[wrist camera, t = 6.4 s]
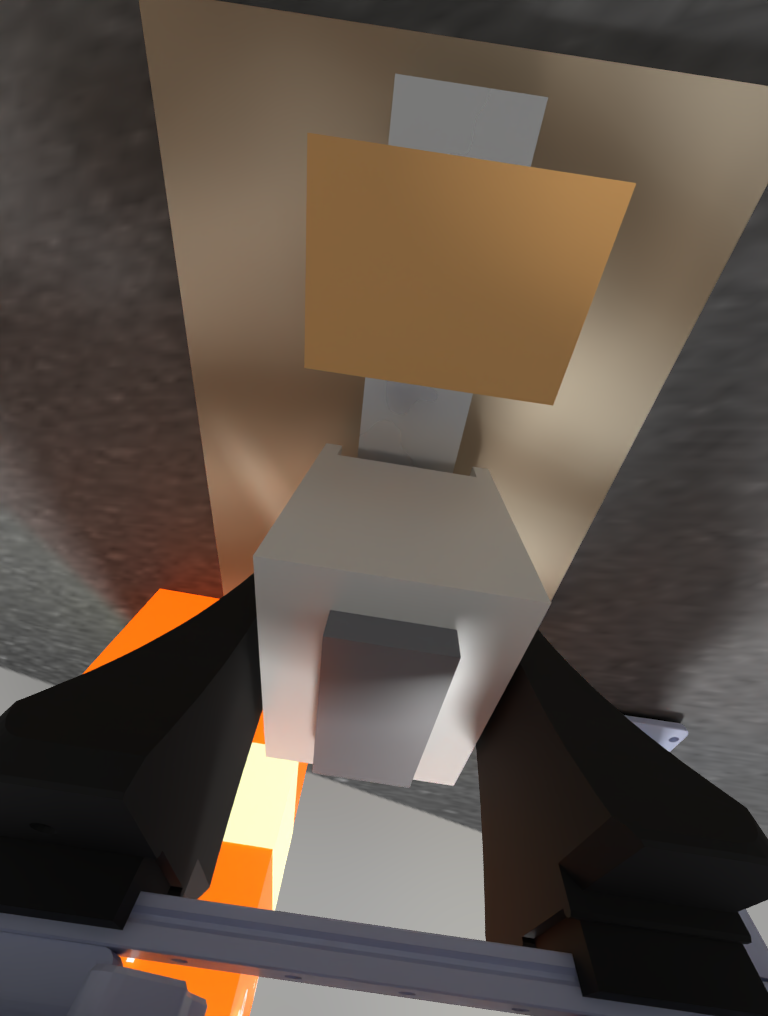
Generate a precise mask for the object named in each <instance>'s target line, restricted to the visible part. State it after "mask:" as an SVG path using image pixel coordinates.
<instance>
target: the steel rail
mask: <svg viewBox="0 0 768 1016" xmlns="http://www.w3.org/2000/svg"><path fill="white" fill-rule="evenodd" d="M547 100H548V97H543V96H537V95H530V94H524V93H517V92H511V91H504V90H498V89H492V88H485V87H479V86H472V85H466V84H459V83H453V82H446V81H440V80H433V79H427V78H420V77H414V76H407V75H401V74H395V81H394V91H393V101H392V111H391V122H390V132H389V142H388V145H392V146H398V147H405V148H411V149H418V150H424V151H431V152H437V153H444V154H450V155H457V156H463V157H470V158H476V159H483V160H489V161H496V162H502V163H509V164H515V165H522V166H528V167H531V163H532V159H533V155H534V152H535V148H536V144H537V140H538V136H539V132H540V128H541V124H542V120H543V116H544V112H545V108H546V104H547ZM472 396H473V393H466V392H460V391H453V390H446V389H440V388H433V387H427V386H420V385H413V384H407V383H400V382H393V381H387V380H380V379H374V378H367V377H365V386H364V396H363V406H362V417H361V427H360V437H359V447H358V457H357V458H361V459H367V460H373V461H379V462H386V463H392V464H398V465H404V466H410V467H417V468H423V469H429V470H435V471H442V472H448V473H453V470H454V466H455V462H456V458H457V455H458V451H459V447H460V443H461V439H462V435H463V431H464V427H465V423H466V419H467V415H468V411H469V407H470V403H471V399H472Z"/></svg>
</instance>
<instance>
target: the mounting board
mask: <svg viewBox="0 0 768 1016" xmlns="http://www.w3.org/2000/svg"><path fill="white" fill-rule="evenodd" d="M139 6H140V13H141V20H142V27H143V34H144V41H145V48H146V55H147V62H148V69H149V76H150V83H151V90H152V97H153V104H154V111H155V118H156V125H157V132H158V139H159V146H160V153H161V160H162V167H163V174H164V181H165V188H166V195H167V202H168V209H169V216H170V223H171V230H172V237H173V244H174V251H175V258H176V265H177V272H178V279H179V286H180V293H181V300H182V307H183V314H184V321H185V328H186V335H187V342H188V349H189V356H190V363H191V370H192V377H193V384H194V391H195V398H196V405H197V412H198V419H199V426H200V433H201V440H202V447H203V454H204V461H205V468H206V475H207V482H208V489H209V496H210V503H211V510H212V517H213V524H214V531H215V538H216V545H217V552H218V559H219V566H220V573H221V580H222V587H223V594H224V596H225V595H226V594H227V593H229V592H230V591H231V590H233V589H234V588H235V587H237V586H238V585H239V584H241V583H242V582H243V581H244V580H246V579H247V578H248V577H249V576H250V575H252V574H253V573H254V565H253V555H254V553H255V552H256V550H257V549H258V547H259V546H260V544H261V543H262V541H263V540H264V538H265V537H266V535H267V534H268V532H269V530H270V529H271V527H272V526H273V524H274V523H275V521H276V520H277V518H278V517H279V515H280V514H281V512H282V511H283V509H284V507H285V506H286V504H287V503H288V501H289V500H290V498H291V497H292V495H293V494H294V492H295V491H296V489H297V488H298V486H299V484H300V483H301V481H302V480H303V478H304V477H305V475H306V474H307V472H308V471H309V469H310V468H311V466H312V465H313V463H314V461H315V460H316V458H317V457H318V455H319V454H320V452H321V451H322V449H323V448H324V446H325V445H326V443H329V444H335V445H342V453H341V455H342V456H348V457H355V458H357V457H358V447H359V437H360V427H361V417H362V406H363V396H364V386H365V377H360V376H354V375H347V374H341V373H334V372H327V371H321V370H314V369H307V368H304V354H305V277H306V200H307V133H314V134H320V135H327V136H333V137H340V138H346V139H353V140H359V141H366V142H372V143H379V144H385V145H388V142H389V132H390V122H391V111H392V101H393V91H394V81H395V74H401V75H407V76H414V77H420V78H427V79H433V80H440V81H446V82H453V83H459V84H466V85H472V86H479V87H485V88H492V89H498V90H504V91H511V92H517V93H524V94H530V95H537V96H543V97H548V100H547V104H546V108H545V112H544V116H543V120H542V124H541V128H540V132H539V136H538V140H537V144H536V148H535V152H534V155H533V159H532V163H531V167H535V168H541V169H548V170H554V171H561V172H567V173H574V174H580V175H587V176H593V177H600V178H606V179H613V180H619V181H626V182H632V183H636V186H635V188H634V191H633V194H632V196H631V199H630V202H629V204H628V207H627V210H626V212H625V215H624V218H623V220H622V223H621V226H620V228H619V231H618V234H617V236H616V239H615V242H614V244H613V247H612V250H611V252H610V255H609V258H608V260H607V263H606V266H605V268H604V271H603V274H602V276H601V279H600V282H599V284H598V287H597V290H596V292H595V295H594V298H593V300H592V303H591V306H590V308H589V311H588V314H587V316H586V319H585V322H584V324H583V327H582V330H581V332H580V335H579V338H578V340H577V343H576V346H575V348H574V351H573V354H572V356H571V359H570V362H569V364H568V367H567V370H566V372H565V375H564V378H563V380H562V383H561V386H560V388H559V391H558V394H557V396H556V399H555V402H554V404H553V406H552V405H546V404H539V403H532V402H526V401H519V400H513V399H506V398H499V397H493V396H486V395H480V394H473V396H472V399H471V403H470V407H469V411H468V415H467V419H466V423H465V427H464V431H463V435H462V439H461V443H460V447H459V451H458V455H457V458H456V462H455V466H454V470H453V473H454V474H460V475H466V476H470V474H471V471H472V467H478V468H485V469H488V470H489V472H490V474H491V476H492V478H493V480H494V482H495V485H496V487H497V489H498V491H499V493H500V495H501V497H502V499H503V502H504V504H505V506H506V508H507V510H508V512H509V514H510V516H511V519H512V521H513V523H514V525H515V527H516V529H517V531H518V533H519V536H520V538H521V540H522V542H523V544H524V546H525V548H526V550H527V553H528V555H529V557H530V559H531V561H532V563H533V565H534V567H535V570H536V572H537V574H538V576H539V578H540V580H541V582H542V584H543V587H544V589H545V591H546V593H547V595H548V597H549V599H550V601H551V600H552V598H553V596H554V594H555V592H556V591H557V589H558V587H559V585H560V583H561V581H562V579H563V577H564V575H565V573H566V571H567V569H568V567H569V565H570V564H571V562H572V560H573V558H574V556H575V554H576V552H577V550H578V548H579V546H580V544H581V542H582V540H583V539H584V537H585V535H586V533H587V531H588V529H589V527H590V525H591V523H592V521H593V519H594V517H595V515H596V513H597V512H598V510H599V508H600V506H601V504H602V502H603V500H604V498H605V496H606V494H607V492H608V490H609V488H610V487H611V485H612V483H613V481H614V479H615V477H616V475H617V473H618V471H619V469H620V467H621V465H622V463H623V461H624V460H625V458H626V456H627V454H628V452H629V450H630V448H631V446H632V444H633V442H634V440H635V438H636V436H637V435H638V433H639V431H640V429H641V427H642V425H643V423H644V421H645V419H646V417H647V415H648V413H649V411H650V409H651V408H652V406H653V404H654V402H655V400H656V398H657V396H658V394H659V392H660V390H661V388H662V386H663V384H664V382H665V381H666V379H667V377H668V375H669V373H670V371H671V369H672V367H673V365H674V363H675V361H676V359H677V357H678V356H679V354H680V352H681V350H682V348H683V346H684V344H685V342H686V340H687V338H688V336H689V334H690V332H691V330H692V329H693V327H694V325H695V323H696V321H697V319H698V317H699V315H700V313H701V311H702V309H703V307H704V305H705V304H706V302H707V300H708V298H709V296H710V294H711V292H712V290H713V288H714V286H715V284H716V282H717V280H718V278H719V277H720V275H721V273H722V271H723V269H724V267H725V265H726V263H727V261H728V259H729V257H730V255H731V253H732V252H733V250H734V248H735V246H736V244H737V242H738V240H739V238H740V236H741V234H742V232H743V230H744V228H745V226H746V225H747V223H748V221H749V219H750V217H751V215H752V213H753V211H754V209H755V207H756V205H757V203H758V201H759V200H760V198H761V196H762V194H763V192H764V190H765V188H766V186H767V184H768V86H765V85H758V84H752V83H745V82H739V81H733V80H726V79H720V78H713V77H707V76H700V75H694V74H687V73H681V72H675V71H668V70H662V69H655V68H649V67H642V66H636V65H629V64H623V63H616V62H610V61H604V60H597V59H591V58H584V57H578V56H571V55H565V54H558V53H552V52H546V51H539V50H533V49H526V48H520V47H513V46H507V45H500V44H494V43H488V42H481V41H475V40H468V39H462V38H455V37H449V36H442V35H436V34H430V33H423V32H417V31H410V30H404V29H397V28H391V27H384V26H378V25H372V24H365V23H359V22H352V21H346V20H339V19H333V18H326V17H320V16H314V15H307V14H301V13H294V12H288V11H281V10H275V9H268V8H262V7H256V6H249V5H243V4H236V3H230V2H223V1H217V0H139Z"/></svg>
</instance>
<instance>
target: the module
mask: <svg viewBox="0 0 768 1016" xmlns="http://www.w3.org/2000/svg"><path fill="white" fill-rule="evenodd" d="M341 453H342V445H335V444H329V443H326V445H325V446H324V448H323V449H322V451H321V452H320V454H319V455H318V457H317V458H316V460H315V461H314V463H313V465H312V466H311V468H310V469H309V471H308V472H307V474H306V475H305V477H304V478H303V480H302V481H301V483H300V484H299V486H298V488H297V489H296V491H295V492H294V494H293V495H292V497H291V498H290V500H289V501H288V503H287V504H286V506H285V507H284V509H283V511H282V512H281V514H280V515H279V517H278V518H277V520H276V521H275V523H274V524H273V526H272V527H271V529H270V530H269V532H268V534H267V535H266V537H265V538H264V540H263V541H262V543H261V544H260V546H259V547H258V549H257V550H256V552H255V553H254V555H253V565H254V581H255V596H256V612H257V627H258V643H259V658H260V674H261V689H262V705H263V720H264V736H265V751H266V757H271V758H277V759H284V760H290V761H297V762H303V763H310V764H313V770H312V773H316V774H323V775H329V776H336V777H342V778H349V779H355V780H361V781H368V782H374V783H381V784H387V785H394V786H400V787H407V788H410V785H411V783H412V780H420V781H426V782H432V783H439V784H445V785H452V786H454V784H455V782H456V780H457V778H458V776H459V775H460V773H461V771H462V769H463V767H464V765H465V763H466V762H467V760H468V758H469V756H470V754H471V752H472V750H473V748H474V747H475V745H476V743H477V741H478V739H479V737H480V735H481V734H482V732H483V730H484V728H485V726H486V724H487V722H488V720H489V719H490V717H491V715H492V713H493V711H494V709H495V707H496V706H497V704H498V702H499V700H500V698H501V696H502V694H503V693H504V691H505V689H506V687H507V685H508V683H509V681H510V679H511V678H512V676H513V674H514V672H515V670H516V668H517V666H518V665H519V663H520V661H521V659H522V657H523V655H524V653H525V651H526V650H527V648H528V646H529V644H530V642H531V640H532V638H533V637H534V635H535V633H536V631H537V629H538V627H539V625H540V623H541V622H542V620H543V618H544V616H545V614H546V612H547V610H548V609H549V607H550V605H551V601H550V599H549V597H548V595H547V593H546V591H545V589H544V587H543V584H542V582H541V580H540V578H539V576H538V574H537V572H536V570H535V567H534V565H533V563H532V561H531V559H530V557H529V555H528V553H527V550H526V548H525V546H524V544H523V542H522V540H521V538H520V536H519V533H518V531H517V529H516V527H515V525H514V523H513V521H512V519H511V516H510V514H509V512H508V510H507V508H506V506H505V504H504V502H503V499H502V497H501V495H500V493H499V491H498V489H497V487H496V485H495V482H494V480H493V478H492V476H491V474H490V472H489V470H488V469H485V468H478V467H472V471H471V474H470V476H466V475H460V474H454V473H448V472H442V471H435V470H429V469H423V468H417V467H410V466H404V465H398V464H392V463H386V462H379V461H373V460H367V459H361V458H355V457H348V456H342V455H341Z"/></svg>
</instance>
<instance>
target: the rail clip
mask: <svg viewBox="0 0 768 1016" xmlns="http://www.w3.org/2000/svg"><path fill="white" fill-rule="evenodd" d="M635 186H636V183H632V182H626V181H619V180H613V179H606V178H600V177H593V176H587V175H580V174H574V173H567V172H561V171H554V170H548V169H541V168H535V167H528V166H522V165H515V164H509V163H502V162H496V161H489V160H483V159H476V158H470V157H463V156H457V155H450V154H444V153H437V152H431V151H424V150H418V149H411V148H405V147H398V146H392V145H385V144H379V143H372V142H366V141H359V140H353V139H346V138H340V137H333V136H327V135H320V134H314V133H307V200H306V277H305V354H304V368H307V369H314V370H321V371H327V372H334V373H341V374H347V375H354V376H360V377H367V378H374V379H380V380H387V381H393V382H400V383H407V384H413V385H420V386H427V387H433V388H440V389H446V390H453V391H460V392H466V393H473V394H480V395H486V396H493V397H499V398H506V399H513V400H519V401H526V402H532V403H539V404H546V405H552V406H553V404H554V402H555V399H556V396H557V394H558V391H559V388H560V386H561V383H562V380H563V378H564V375H565V372H566V370H567V367H568V364H569V362H570V359H571V356H572V354H573V351H574V348H575V346H576V343H577V340H578V338H579V335H580V332H581V330H582V327H583V324H584V322H585V319H586V316H587V314H588V311H589V308H590V306H591V303H592V300H593V298H594V295H595V292H596V290H597V287H598V284H599V282H600V279H601V276H602V274H603V271H604V268H605V266H606V263H607V260H608V258H609V255H610V252H611V250H612V247H613V244H614V242H615V239H616V236H617V234H618V231H619V228H620V226H621V223H622V220H623V218H624V215H625V212H626V210H627V207H628V204H629V202H630V199H631V196H632V194H633V191H634V188H635Z"/></svg>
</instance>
